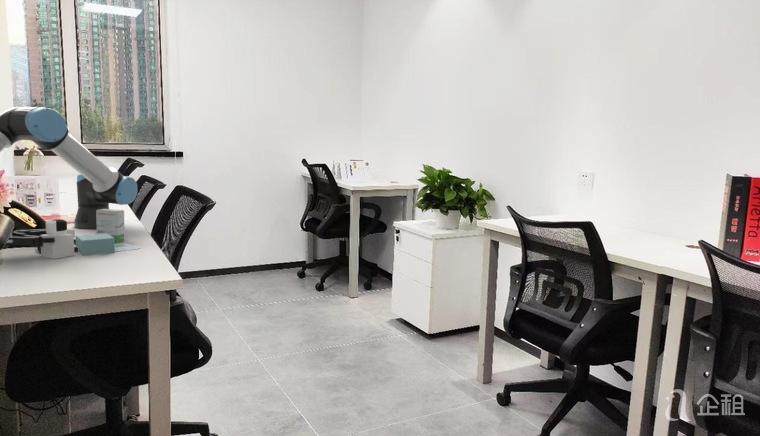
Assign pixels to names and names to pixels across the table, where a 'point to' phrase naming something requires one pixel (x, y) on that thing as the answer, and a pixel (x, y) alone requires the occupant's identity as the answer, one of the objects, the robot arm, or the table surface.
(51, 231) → the grey stepped block
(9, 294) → the table surface
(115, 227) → the ink box
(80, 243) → the base brick
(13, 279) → the table surface
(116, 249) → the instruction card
